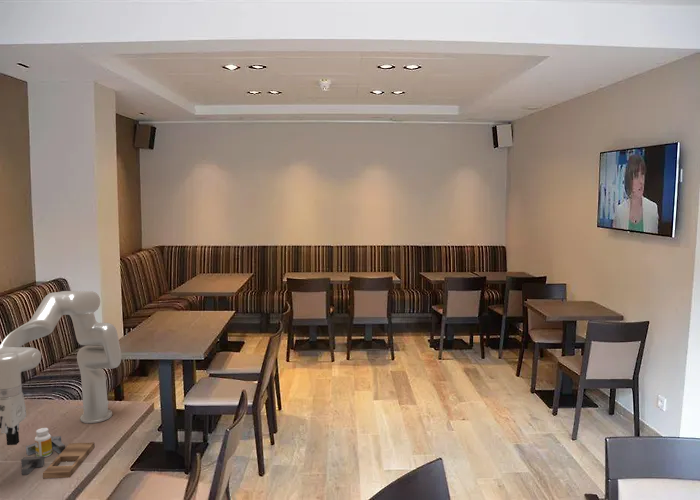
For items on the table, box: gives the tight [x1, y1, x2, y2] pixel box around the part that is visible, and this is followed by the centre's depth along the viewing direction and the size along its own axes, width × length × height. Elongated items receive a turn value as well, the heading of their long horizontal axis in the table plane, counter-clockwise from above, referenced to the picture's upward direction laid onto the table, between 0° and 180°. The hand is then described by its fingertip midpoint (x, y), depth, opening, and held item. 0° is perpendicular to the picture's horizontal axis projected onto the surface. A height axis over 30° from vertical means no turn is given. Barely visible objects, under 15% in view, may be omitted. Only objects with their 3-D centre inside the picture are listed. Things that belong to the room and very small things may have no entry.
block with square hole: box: [42, 441, 95, 479], centre depth 209 cm, size 22×9×2 cm, turn 3°
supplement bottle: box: [34, 427, 53, 458], centre depth 214 cm, size 5×5×10 cm
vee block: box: [25, 435, 66, 457], centre depth 219 cm, size 9×14×3 cm, turn 93°
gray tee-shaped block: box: [20, 456, 45, 476], centre depth 204 cm, size 7×7×3 cm
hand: (13, 443), depth 193 cm, fingers closed
